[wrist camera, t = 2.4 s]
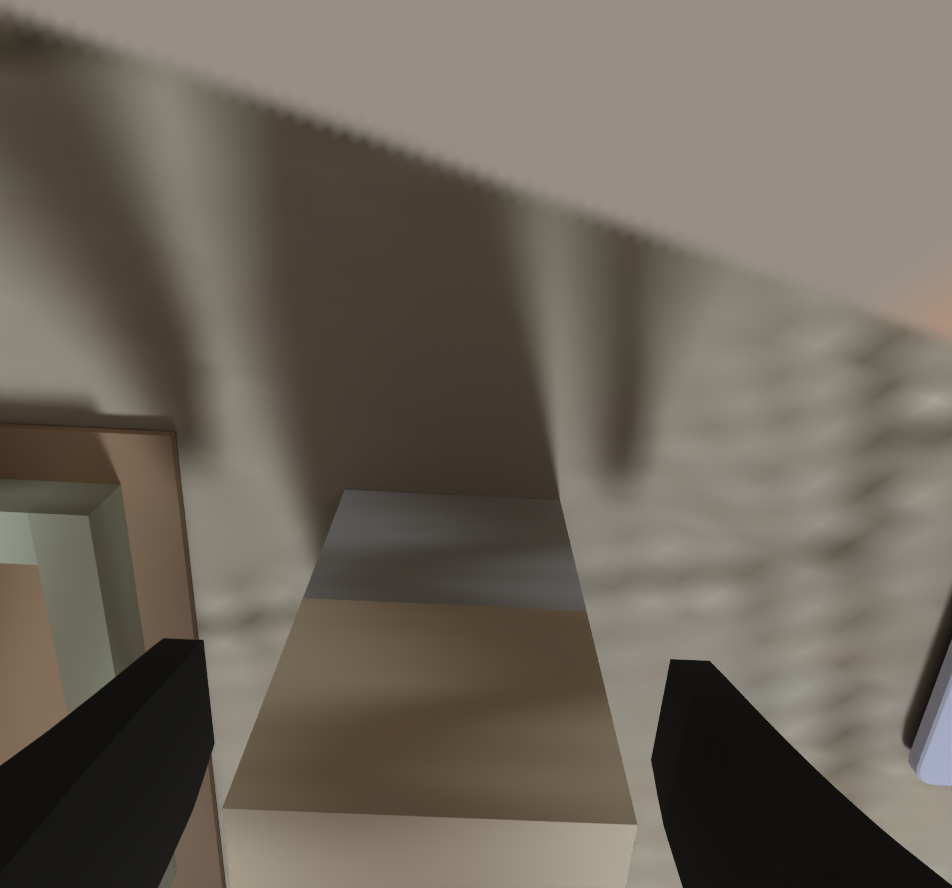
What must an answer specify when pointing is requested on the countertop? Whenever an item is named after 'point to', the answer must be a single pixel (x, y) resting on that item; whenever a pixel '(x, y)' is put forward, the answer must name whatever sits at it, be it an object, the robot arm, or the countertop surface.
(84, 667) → the socket board
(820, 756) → the countertop surface
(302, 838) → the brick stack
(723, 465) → the countertop surface
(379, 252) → the countertop surface
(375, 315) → the countertop surface
